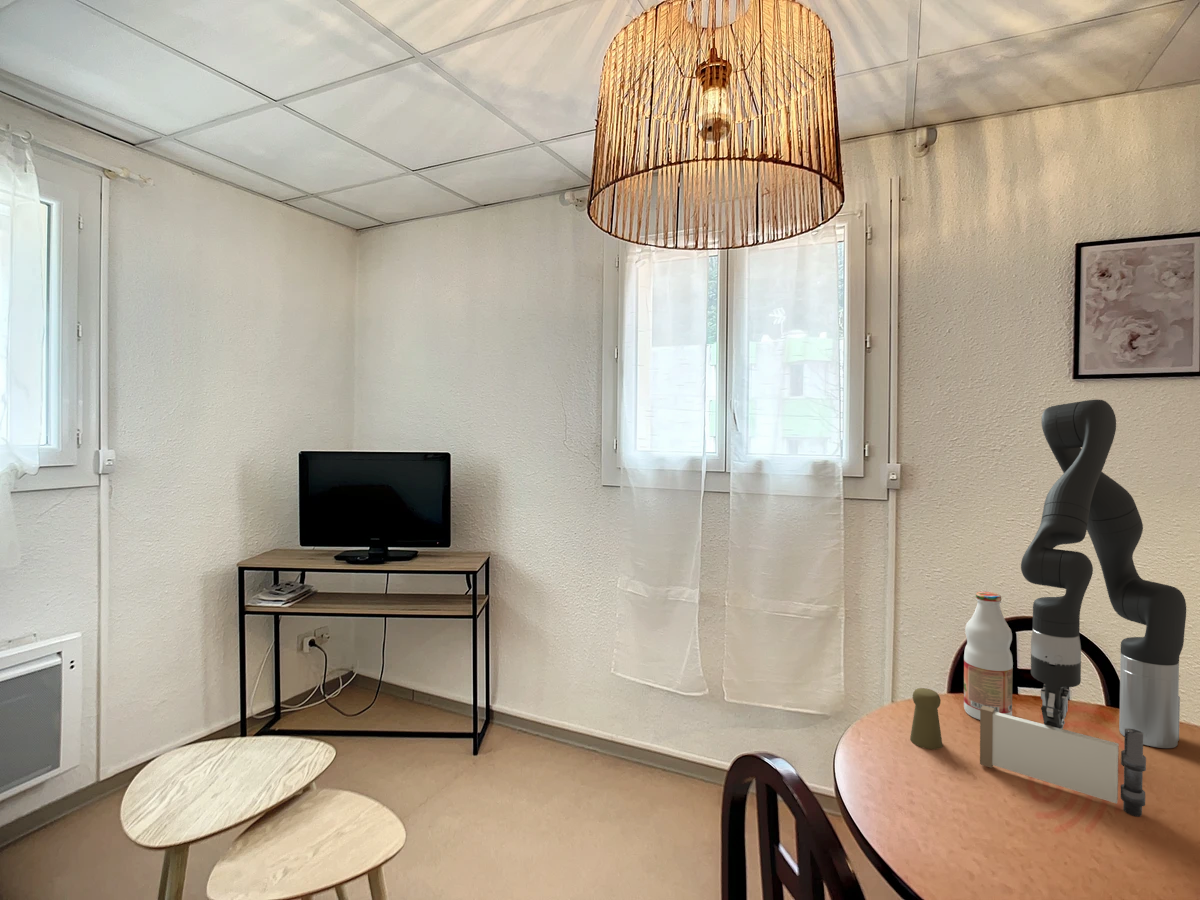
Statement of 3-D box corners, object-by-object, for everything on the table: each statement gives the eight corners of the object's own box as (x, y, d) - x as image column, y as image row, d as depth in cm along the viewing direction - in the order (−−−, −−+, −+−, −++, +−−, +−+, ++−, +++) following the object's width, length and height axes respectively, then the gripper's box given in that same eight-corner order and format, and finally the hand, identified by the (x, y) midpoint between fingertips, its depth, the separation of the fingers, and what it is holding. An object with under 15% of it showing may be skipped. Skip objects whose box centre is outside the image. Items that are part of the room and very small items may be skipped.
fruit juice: (981, 725, 136) (982, 600, 136) (954, 706, 146) (955, 589, 145) (1022, 723, 137) (1023, 599, 136) (992, 704, 146) (993, 588, 145)
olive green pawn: (946, 750, 126) (947, 697, 126) (914, 748, 127) (915, 695, 127) (936, 736, 132) (937, 685, 132) (906, 733, 133) (906, 683, 133)
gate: (1117, 802, 108) (1118, 740, 107) (1116, 807, 106) (1118, 744, 106) (982, 760, 121) (982, 705, 121) (979, 764, 120) (980, 708, 120)
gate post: (1128, 804, 107) (1129, 726, 107) (1149, 815, 104) (1151, 734, 104) (1115, 808, 106) (1117, 729, 106) (1136, 819, 103) (1138, 737, 103)
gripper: (1037, 640, 122) (1036, 724, 123) (1024, 660, 113) (1024, 752, 114) (1085, 649, 117) (1084, 737, 118) (1076, 671, 108) (1075, 767, 109)
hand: (1054, 744), depth 116 cm, fingers closed
